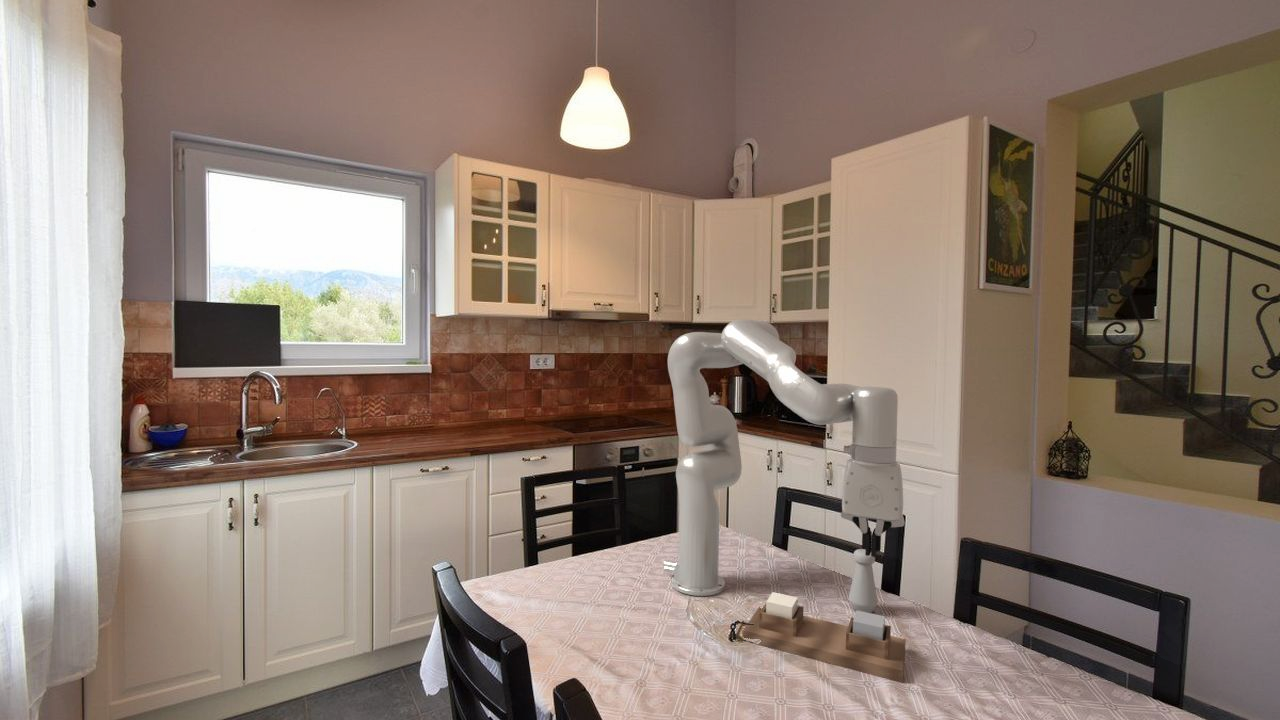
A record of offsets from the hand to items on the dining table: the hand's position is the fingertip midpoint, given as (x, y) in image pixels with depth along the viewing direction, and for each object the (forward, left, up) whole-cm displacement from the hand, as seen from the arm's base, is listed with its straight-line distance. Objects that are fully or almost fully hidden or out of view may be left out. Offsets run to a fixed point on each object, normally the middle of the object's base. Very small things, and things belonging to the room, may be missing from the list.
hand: (871, 553), depth 104 cm
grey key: (0, 0, -14) cm, 14 cm away
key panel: (-8, 0, -19) cm, 21 cm away
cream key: (-16, 0, -15) cm, 22 cm away
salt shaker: (-3, +20, -19) cm, 28 cm away
